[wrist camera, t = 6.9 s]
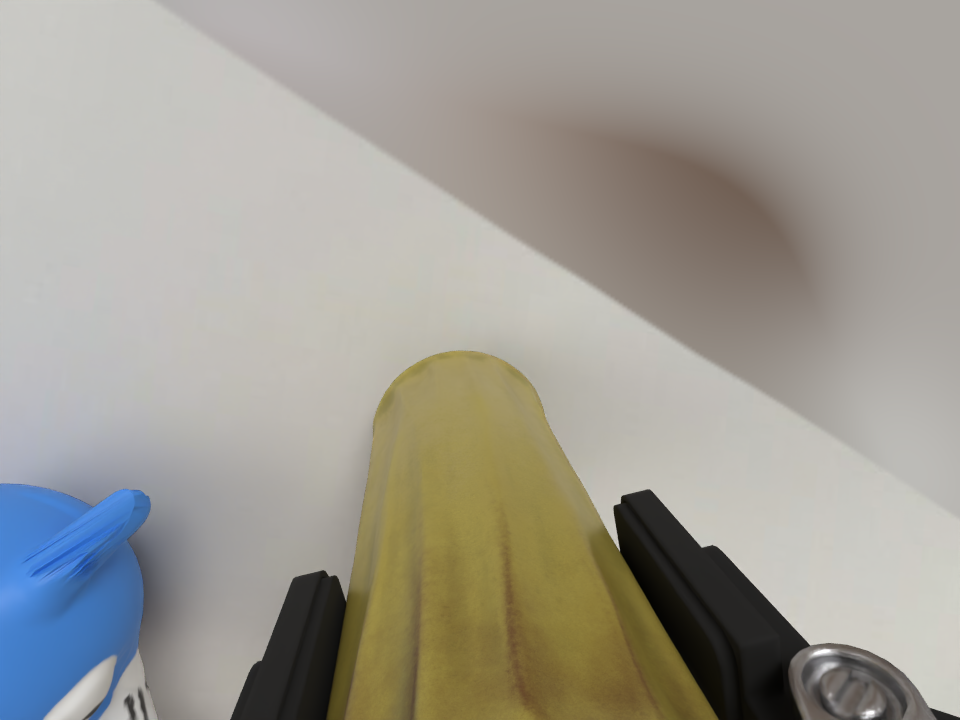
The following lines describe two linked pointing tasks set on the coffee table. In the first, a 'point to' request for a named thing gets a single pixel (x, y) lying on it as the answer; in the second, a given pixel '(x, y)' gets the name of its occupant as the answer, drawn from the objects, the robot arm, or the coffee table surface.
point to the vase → (492, 570)
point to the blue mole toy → (71, 607)
